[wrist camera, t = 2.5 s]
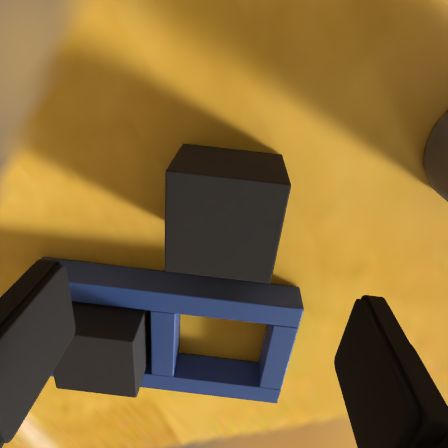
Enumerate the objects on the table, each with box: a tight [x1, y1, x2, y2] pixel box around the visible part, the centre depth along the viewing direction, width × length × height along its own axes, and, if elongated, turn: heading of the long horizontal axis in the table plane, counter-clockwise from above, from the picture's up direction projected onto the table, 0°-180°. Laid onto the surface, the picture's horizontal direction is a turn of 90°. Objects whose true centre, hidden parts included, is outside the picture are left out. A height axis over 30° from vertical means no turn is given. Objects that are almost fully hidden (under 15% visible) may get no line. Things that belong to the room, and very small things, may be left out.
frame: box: [41, 257, 304, 403], centre depth 22 cm, size 9×16×2 cm, turn 85°
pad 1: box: [53, 301, 151, 397], centre depth 21 cm, size 5×5×4 cm
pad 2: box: [165, 144, 291, 283], centre depth 16 cm, size 5×5×4 cm
